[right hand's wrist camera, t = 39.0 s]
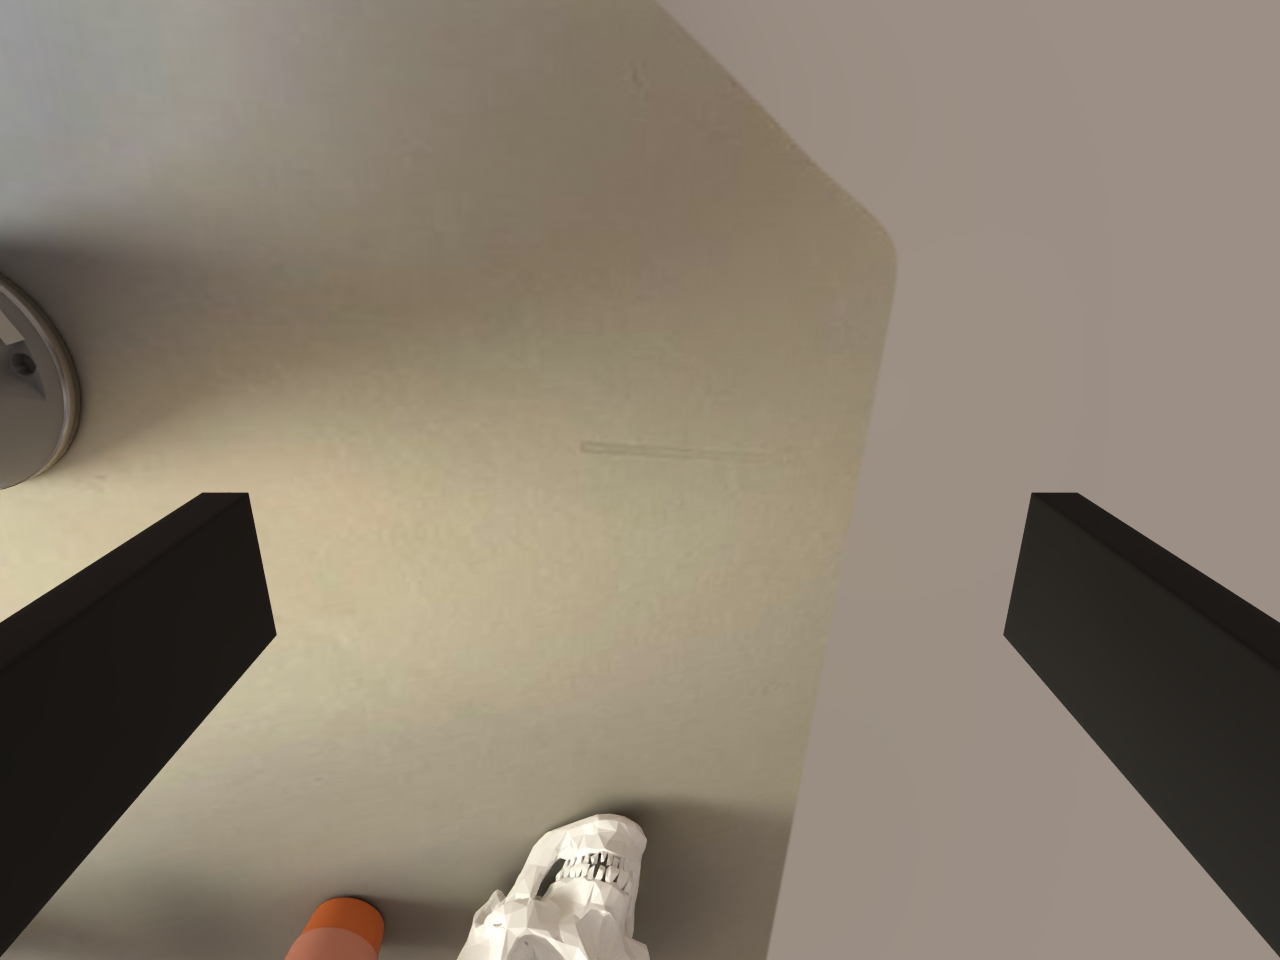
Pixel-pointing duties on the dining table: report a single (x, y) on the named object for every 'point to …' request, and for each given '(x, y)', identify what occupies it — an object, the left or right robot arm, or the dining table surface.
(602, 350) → the dining table surface
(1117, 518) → the right robot arm
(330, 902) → the cup with straw
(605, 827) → the skull
